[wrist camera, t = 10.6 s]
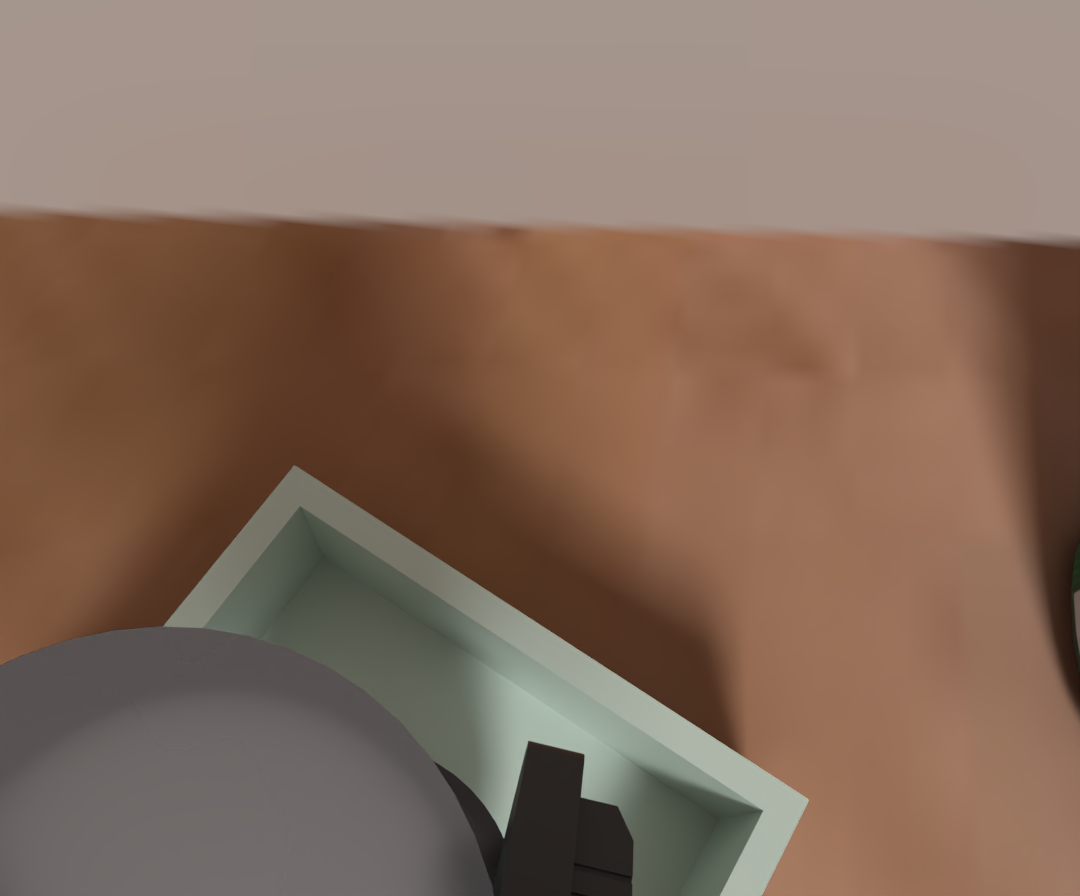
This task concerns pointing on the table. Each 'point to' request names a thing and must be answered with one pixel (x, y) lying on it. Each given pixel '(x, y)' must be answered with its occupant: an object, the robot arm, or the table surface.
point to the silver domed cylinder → (220, 777)
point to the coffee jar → (1076, 605)
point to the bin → (492, 687)
